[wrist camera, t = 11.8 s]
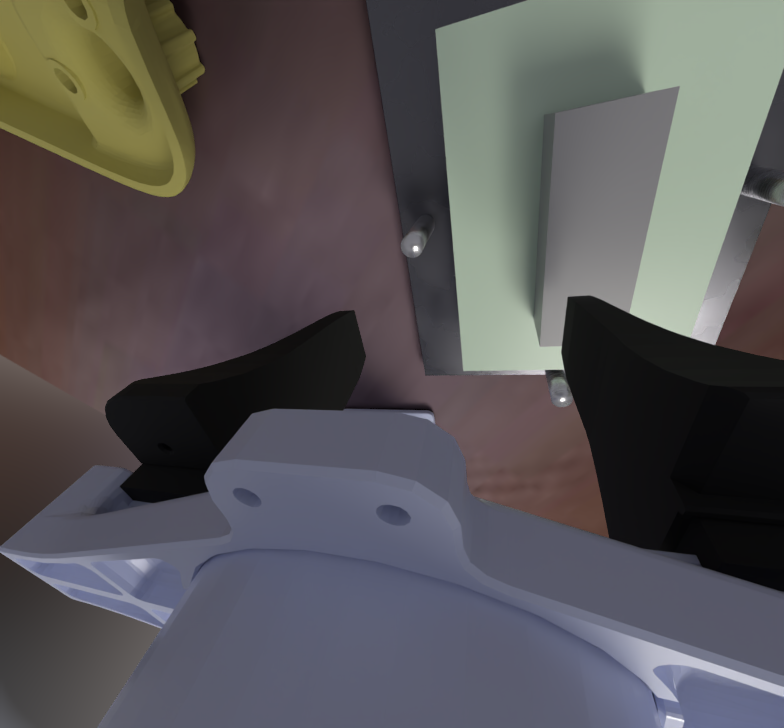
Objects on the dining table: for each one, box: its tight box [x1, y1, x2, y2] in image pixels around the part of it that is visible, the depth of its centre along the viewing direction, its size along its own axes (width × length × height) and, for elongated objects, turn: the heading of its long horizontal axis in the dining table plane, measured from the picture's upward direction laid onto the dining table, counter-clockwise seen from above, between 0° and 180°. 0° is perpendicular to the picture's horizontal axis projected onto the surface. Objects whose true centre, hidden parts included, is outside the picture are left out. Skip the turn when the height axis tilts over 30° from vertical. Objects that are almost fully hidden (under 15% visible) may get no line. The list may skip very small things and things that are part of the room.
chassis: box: [366, 0, 784, 407], centre depth 15 cm, size 20×16×5 cm
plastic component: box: [0, 0, 205, 197], centre depth 15 cm, size 20×7×10 cm
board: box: [435, 0, 784, 371], centre depth 13 cm, size 14×10×3 cm
